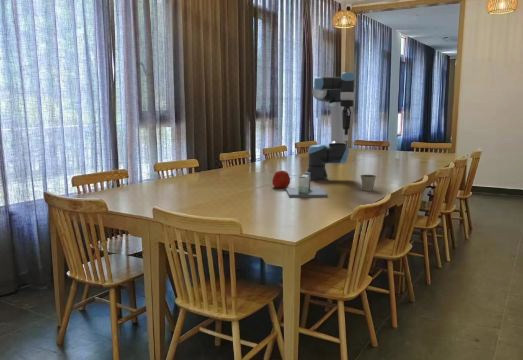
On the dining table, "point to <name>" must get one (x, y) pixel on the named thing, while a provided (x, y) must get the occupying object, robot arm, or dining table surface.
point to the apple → (281, 179)
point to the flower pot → (368, 182)
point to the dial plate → (310, 193)
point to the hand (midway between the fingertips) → (345, 140)
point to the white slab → (304, 181)
